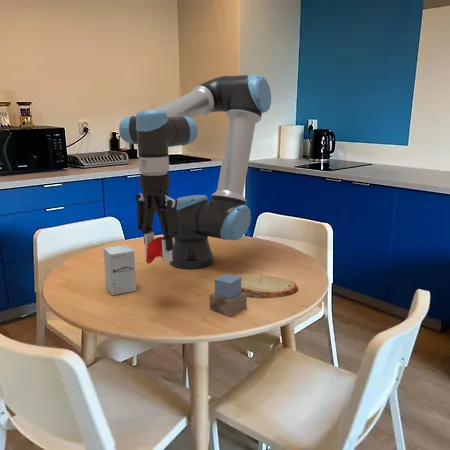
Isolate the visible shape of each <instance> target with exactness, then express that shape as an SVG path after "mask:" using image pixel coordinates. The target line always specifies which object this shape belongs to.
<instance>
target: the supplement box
mask: <svg viewBox="0 0 450 450" xmlns="http://www.w3.org/2000/svg"><path fill="white" fill-rule="evenodd" d="M103 258H104V259H103V260H104V261H103V262H104V272H105V273H104V276H105V286H106V287H105V288H106V289H107V290H108V292H109V294H110V295H111V296H115V295H119V294H126V293H133V292H136V291H137V281H136V280H137V279H136V261H135V260H136V258H135V250H134V249H133V248H132V247H130V246H129V245H128V244H124V245H118V246H117V245H115V246H109V247H104V248H103Z"/></svg>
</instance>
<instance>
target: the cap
mask: <svg viewBox="0 0 450 450" xmlns="http://www.w3.org/2000/svg"><path fill="white" fill-rule="evenodd" d="M162 238H164V236H159V237H156V238H154V240H153V241H152V242H151V243H149V244H148V248H147V257H146V256H145V261H146V264H147V265H148V264H151V263H152V262H154V261H155V259H156V258H159V257H161V258H162V259H163V253H162Z"/></svg>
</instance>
